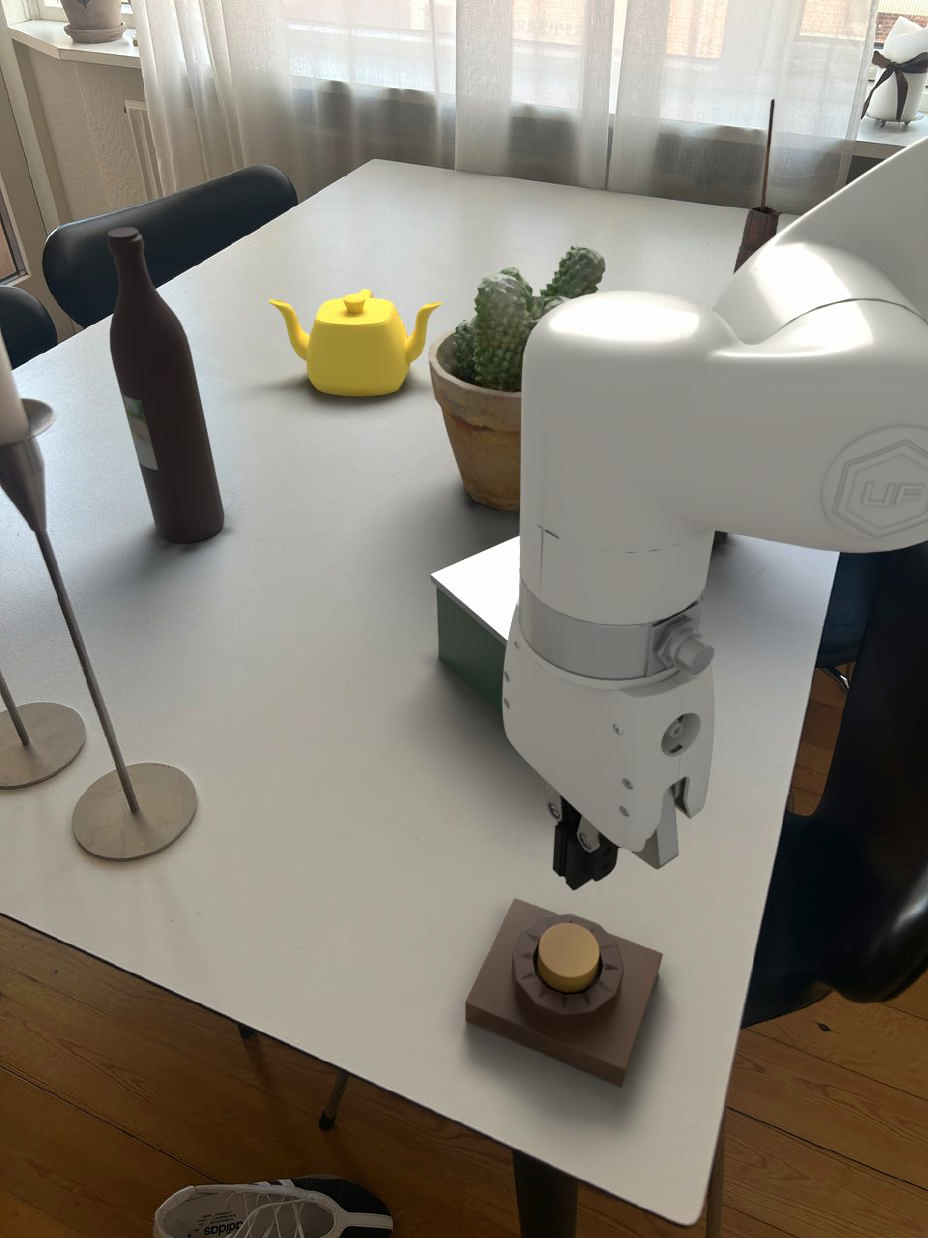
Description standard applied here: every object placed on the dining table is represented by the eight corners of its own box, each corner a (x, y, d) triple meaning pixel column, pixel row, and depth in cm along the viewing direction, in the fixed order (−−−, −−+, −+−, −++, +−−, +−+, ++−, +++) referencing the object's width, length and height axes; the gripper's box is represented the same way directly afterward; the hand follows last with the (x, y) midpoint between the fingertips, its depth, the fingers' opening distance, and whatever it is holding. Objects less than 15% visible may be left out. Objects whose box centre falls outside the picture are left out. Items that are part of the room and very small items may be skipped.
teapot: (449, 349, 133) (447, 270, 127) (440, 401, 122) (437, 318, 115) (292, 346, 135) (282, 268, 128) (267, 397, 123) (255, 315, 116)
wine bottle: (175, 503, 104) (105, 216, 85) (236, 510, 103) (179, 221, 84) (144, 540, 99) (63, 243, 80) (208, 548, 98) (141, 248, 78)
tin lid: (430, 581, 80) (430, 574, 80) (538, 534, 86) (538, 526, 85) (539, 677, 71) (540, 669, 71) (653, 617, 77) (654, 609, 76)
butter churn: (794, 322, 139) (841, 107, 121) (738, 332, 137) (777, 114, 119) (757, 299, 146) (796, 92, 128) (703, 308, 143) (735, 99, 125)
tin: (438, 656, 85) (435, 586, 80) (540, 606, 90) (544, 538, 85) (535, 749, 76) (539, 677, 71) (642, 688, 82) (653, 617, 77)
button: (605, 951, 59) (607, 935, 58) (586, 1002, 56) (588, 987, 55) (549, 930, 60) (551, 914, 59) (528, 979, 58) (529, 963, 56)
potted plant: (538, 553, 97) (550, 311, 81) (396, 494, 105) (381, 265, 89) (629, 475, 108) (655, 248, 92) (494, 427, 116) (496, 213, 100)
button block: (659, 972, 62) (666, 937, 59) (622, 1088, 56) (628, 1055, 54) (513, 916, 65) (515, 881, 62) (465, 1021, 59) (464, 987, 57)
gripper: (813, 662, 37) (738, 929, 49) (561, 495, 46) (549, 753, 58) (673, 750, 34) (629, 1014, 46) (433, 551, 43) (447, 812, 55)
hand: (584, 867), depth 52 cm, fingers closed
